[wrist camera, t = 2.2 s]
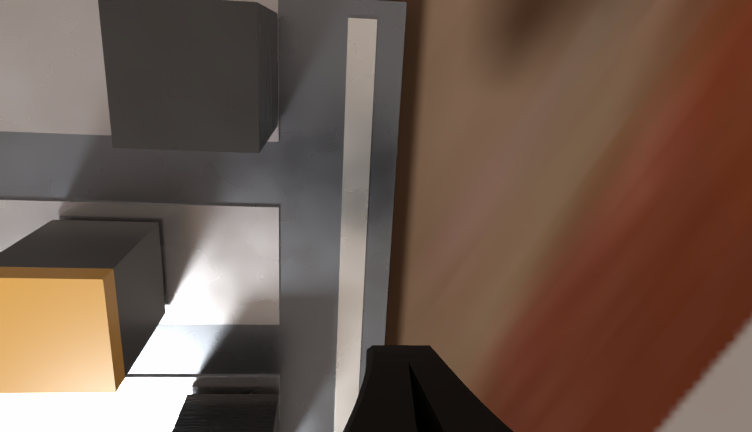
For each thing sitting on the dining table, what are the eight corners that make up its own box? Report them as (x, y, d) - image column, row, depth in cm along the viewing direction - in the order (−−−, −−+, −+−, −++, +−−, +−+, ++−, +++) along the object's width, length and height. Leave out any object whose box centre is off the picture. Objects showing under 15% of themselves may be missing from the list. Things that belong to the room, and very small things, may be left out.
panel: (-89, 445, 19) (-257, 604, 14) (-215, -33, 14) (-549, -79, 9) (373, 439, 21) (387, 581, 15) (400, 5, 16) (435, -14, 11)
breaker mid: (65, 311, 16) (-16, 393, 13) (52, 219, 15) (-40, 277, 12) (165, 312, 17) (115, 392, 13) (158, 222, 16) (102, 279, 12)
